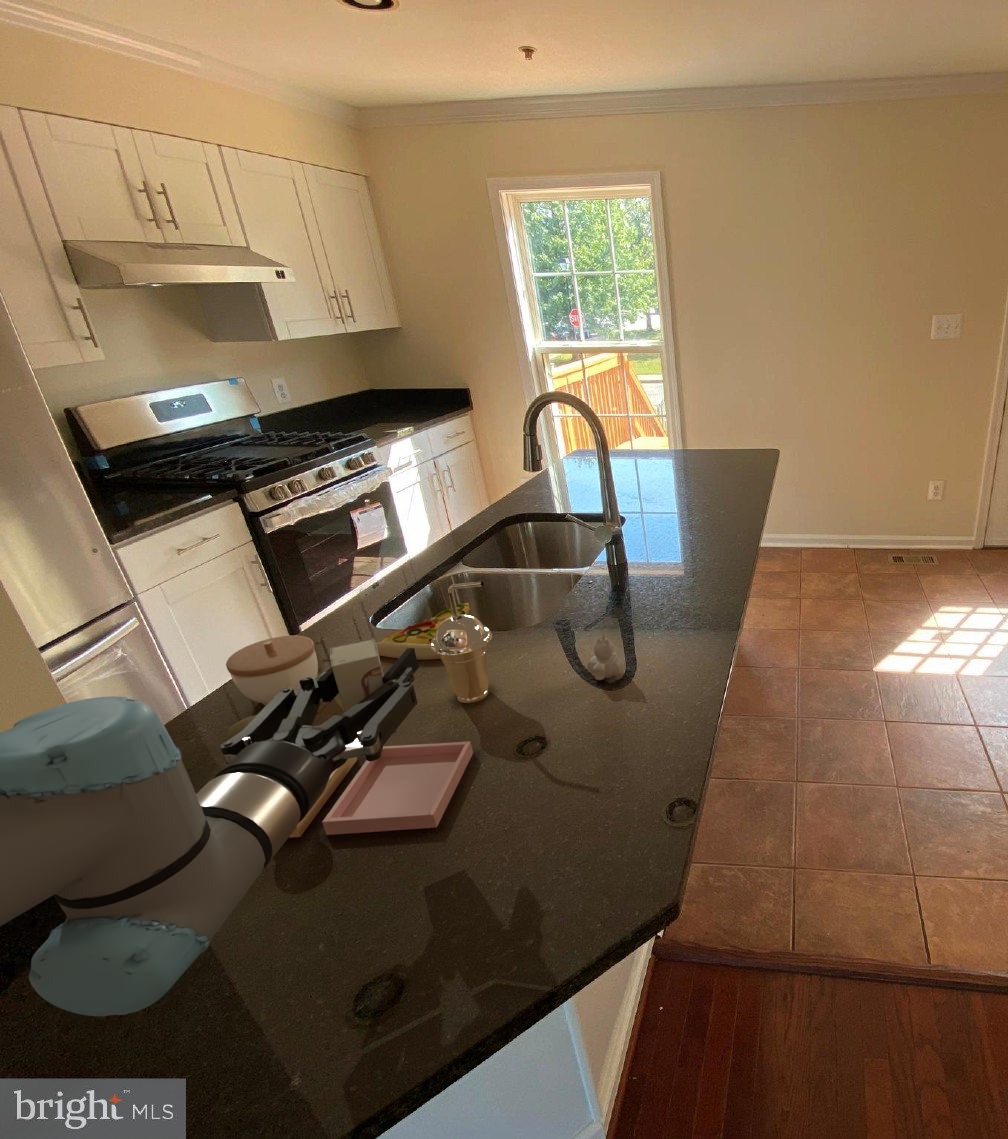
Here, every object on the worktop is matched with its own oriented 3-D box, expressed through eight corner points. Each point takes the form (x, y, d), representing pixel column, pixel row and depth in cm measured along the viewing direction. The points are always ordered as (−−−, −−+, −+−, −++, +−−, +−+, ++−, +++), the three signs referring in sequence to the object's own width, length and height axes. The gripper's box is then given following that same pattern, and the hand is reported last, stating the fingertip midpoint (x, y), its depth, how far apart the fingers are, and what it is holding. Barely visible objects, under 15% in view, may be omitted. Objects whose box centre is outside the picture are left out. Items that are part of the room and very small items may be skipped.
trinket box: (310, 668, 103) (294, 619, 99) (338, 690, 97) (322, 639, 93) (231, 698, 95) (211, 646, 91) (257, 724, 89) (236, 669, 85)
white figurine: (627, 668, 104) (624, 626, 101) (614, 690, 98) (610, 646, 95) (597, 665, 105) (593, 624, 102) (582, 687, 99) (577, 644, 96)
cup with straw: (481, 674, 102) (460, 563, 94) (515, 692, 97) (495, 577, 89) (432, 698, 95) (404, 581, 88) (465, 719, 91) (438, 597, 83)
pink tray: (326, 835, 71) (321, 822, 70) (379, 758, 83) (376, 746, 82) (436, 827, 72) (433, 814, 71) (473, 752, 84) (470, 741, 83)
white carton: (399, 733, 69) (378, 656, 65) (353, 747, 67) (329, 668, 63) (394, 709, 73) (374, 636, 69) (351, 722, 71) (328, 646, 67)
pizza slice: (366, 659, 106) (362, 644, 105) (433, 606, 125) (430, 592, 124) (452, 663, 105) (449, 647, 104) (506, 609, 124) (504, 595, 123)
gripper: (149, 844, 52) (307, 689, 73) (384, 829, 54) (472, 682, 75) (114, 774, 49) (289, 634, 70) (363, 761, 51) (461, 628, 72)
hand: (383, 659), depth 72 cm, fingers closed on white carton, 6 cm apart
